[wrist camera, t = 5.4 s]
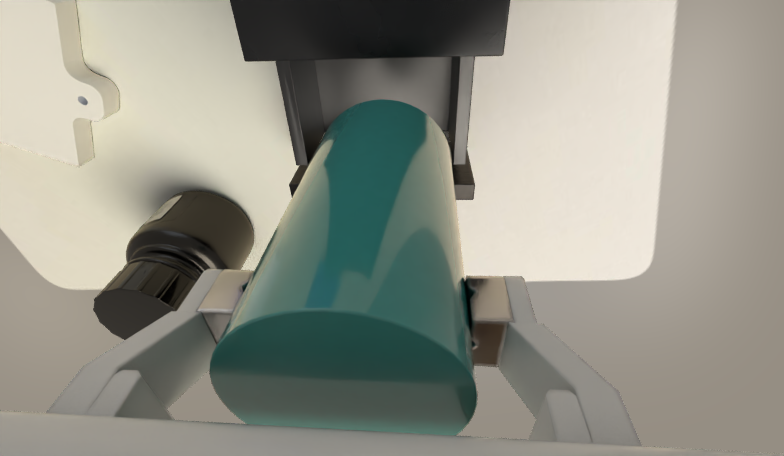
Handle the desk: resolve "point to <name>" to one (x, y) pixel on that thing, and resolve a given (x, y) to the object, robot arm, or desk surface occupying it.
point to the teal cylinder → (359, 290)
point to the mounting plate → (49, 82)
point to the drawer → (373, 82)
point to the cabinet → (369, 28)
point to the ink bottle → (173, 259)
